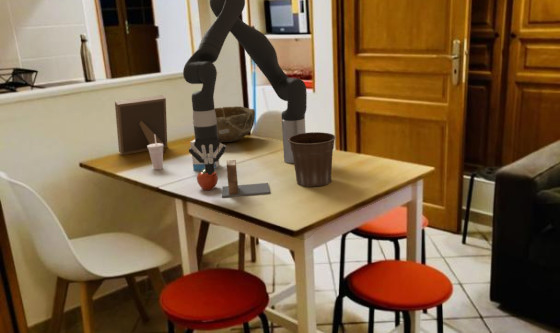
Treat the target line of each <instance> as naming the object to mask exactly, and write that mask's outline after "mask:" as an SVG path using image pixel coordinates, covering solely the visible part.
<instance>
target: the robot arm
mask: <svg viewBox="0 0 560 333" xmlns="http://www.w3.org/2000/svg"><path fill="white" fill-rule="evenodd" d="M245 5H246V0H209V7H210V9H211V11H212V13H213V14H214V16H215V18H216V19H215V20H214V21H213V23H212V24H211V25H210V26H209V27H208V29H207V30H206V31H205V32H204V35H203V36H202V38H201V40H200V43H199V46H198V48H197V49H196V50H195V51H194V53H193V54H192V55H191V56H190V57H189V58H188V59H187V61H186V62H185V65H184V67H183V71H182V74H183V79H184V80H185V82H186V83H188V84H191V85H202V88H201V90H198V91H194V92H193V93H192V94H191V104H192V105H191V106H192V124H193V131H194V139H195V142H194V146H192V147H191V146H190V147H189V149H188V153H189V154H191V156H192V155H193V156H194V157H195V158H196V159H197V160H198V161H199V162H200V163H204V164H205V170H206V173H208V175H211V174H213V173H214V172H215V169H214V162H217V161H218V160H219V161H220V159H221V157H222V156H223V155H224V153H225V151H226V150H227V145H226V144H223V143H222V142H220V140H219V139H218V131H217V120H216V113H215V108H216V107H215V98H214V94H215V88H216V83H217V82H216V81H217V78H218V77H217V75H218V70H217V68H216V66H215V64H214V63H215V62H216V61H217V60H218V58H219V56H220V55H221V50H222V48H223V46H224V43H225V41H226V39H227V37H228V35H229V33H230V34H232V36H233V37H234V38H235V39H236V40H237V41H238V43H239V45H241V47H242V48H243V49H244V51H245V53H246V54H247V55H248V56H249V57H250V59H251V60H252V62H253V63H254V64H255V65H256V66H257V67H258V69H259V70H260V71H261V72H262V74H263V75H264V76H265V78H266V79H267V81H268V82H269V84H270V86H271V88H272V89H273V91H274V92H275V94H276V95H277V97H278V98H279V99H280V100H282V101H284V102H287V103H286V105H287V106H286V107H287V108H286V109H285V110H283V111H282V112H281V126H282V127H281V130H282V145H283V146H282V147H283V148H282V149H283V158H284V159H283V160H284V162H285V163H287V164H288V163H289V164H294V160H293V153H292V151H291V146H290V142H289V141H288V139H289V137H291V136H293V135H297V134H301V133H307V132H306V131H307V130H306V112H307V108H308V106H307V104H308V103H307V100H308V96H307V94H308V93H307V87H306V84H305V82H304V81H303V80H302V79H301V78H297V77H295V78H294V77H289V76H288V75H287V74H286V73H285V71H284V70H283V69H282V67H281V66H280V64H279V59H278V54H277V51H276V49H275V47H274V46H273V44H272V42H271V41H270V40H269V39H268V37H267V35H265V34H264V33H263V32H261V31H259V30H258V29H256V28H255V27H252V25H251V26H250V25H249V24H247V23H246V22H244V21H243V20H242V19H241V18H240V16H241V14H242V12H243V11H244V9H245ZM196 148H197V149H198V150H199V151H200V152H201V153H202V154H203V158H202V157H201V156H200V155H199V154H198V153H197V152H196V151H197V150H196ZM217 148H218V154H217V155H216V157H215V158H213V153H214V152H215V151H216V149H217ZM208 153H209V159H210V163H209V161H208V155H207V154H208Z"/></svg>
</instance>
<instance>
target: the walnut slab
mask: <svg viewBox="0 0 560 333" xmlns="http://www.w3.org/2000/svg"><path fill="white" fill-rule="evenodd" d="M236 161H237V160H236V159H227V160H226V174H227V177H226V178H227V184H228V185H227V186H228V188H229V195H234V194H238V185H239V184H238V183H239V182H238V171H237V162H236Z"/></svg>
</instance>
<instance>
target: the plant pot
mask: <svg viewBox="0 0 560 333" xmlns="http://www.w3.org/2000/svg"><path fill="white" fill-rule="evenodd" d="M336 138H337V137H336V135H335V134H332V133H330V132H319V131H318V132H316V131H315V132H314V131H313V132H306V133H301V134H297V135H293V136H291V137H289V139H288V141H289V142H290V146H291V151H292V153H293V160H294V163H293V164H294V171H295V178H296V183H297V184H298V185H299V186H301V187H308V188H313V187H323V186H327V185H329V184H330V183H331V182H332V169H333V150H334V147H335V140H336Z"/></svg>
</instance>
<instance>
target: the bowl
mask: <svg viewBox="0 0 560 333" xmlns="http://www.w3.org/2000/svg"><path fill="white" fill-rule="evenodd" d="M214 108H215V113H216V120H217V131H218V139H219V140H220V143H232V142H238V141H240V140H242V139H244V138H245V137H246V136H247V135H248V134H249V133H250V132H251V131H252V129H253V127H254V125H255V118H256V117H255V116H256V111H255V109H254V108H248V107H244V106H223V107H214Z"/></svg>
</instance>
